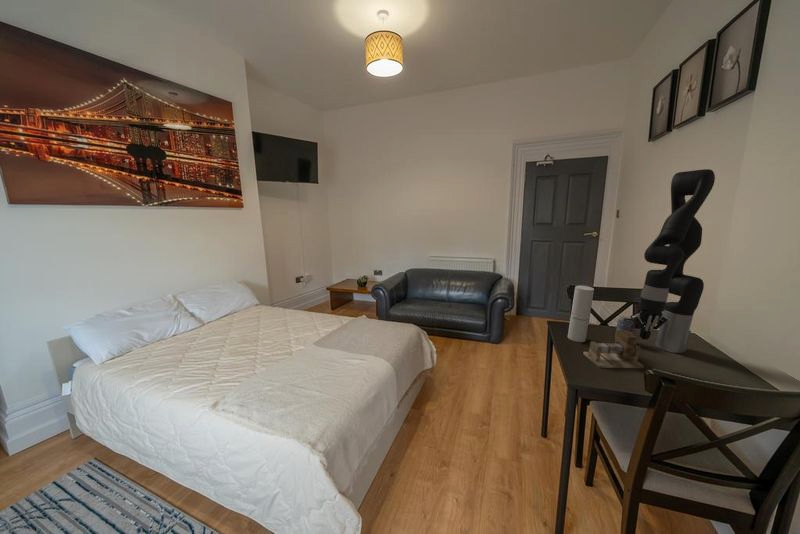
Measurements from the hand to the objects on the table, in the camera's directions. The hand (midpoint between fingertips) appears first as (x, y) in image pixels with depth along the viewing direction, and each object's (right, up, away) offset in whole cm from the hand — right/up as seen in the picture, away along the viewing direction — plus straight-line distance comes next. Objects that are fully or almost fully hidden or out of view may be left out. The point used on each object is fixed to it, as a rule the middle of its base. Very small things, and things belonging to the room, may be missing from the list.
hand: (643, 338), depth 111 cm
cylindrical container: (-14, -5, +21) cm, 26 cm away
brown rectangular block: (-7, -7, +2) cm, 10 cm away
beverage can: (+6, -6, +19) cm, 21 cm away
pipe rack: (-11, -9, +2) cm, 15 cm away
